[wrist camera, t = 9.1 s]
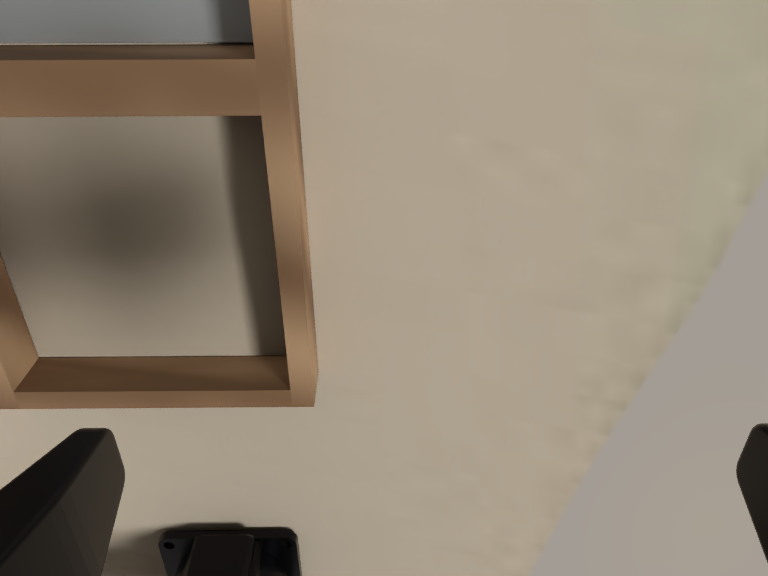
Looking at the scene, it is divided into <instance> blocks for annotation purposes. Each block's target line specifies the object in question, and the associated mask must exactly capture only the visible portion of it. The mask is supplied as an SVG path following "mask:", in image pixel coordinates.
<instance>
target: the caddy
mask: <svg viewBox="0 0 768 576" xmlns="http://www.w3.org/2000/svg"><path fill="white" fill-rule="evenodd" d="M152 42H253V43H254V44H219V45H0V117H65V116H261V118H262V128H263V137H264V147H265V156H266V165H267V175H268V184H269V194H270V203H271V212H272V222H273V231H274V240H275V250H276V259H277V269H278V278H279V287H280V297H281V306H282V315H283V325H284V334H285V344H286V353H287V356H222V357H79V358H39V357H38V354H37V352H36V349H35V346H34V344H33V341H32V338H31V336H30V333H29V330H28V327H27V325H26V322H25V319H24V317H23V314H22V311H21V309H20V306H19V303H18V301H17V298H16V295H15V292H14V290H13V287H12V284H11V282H10V279H9V276H8V274H7V271H6V268H5V266H4V263H3V260H2V257H1V255H0V409H66V408H200V407H314V402H315V394H316V387H317V379H318V360H317V347H316V334H315V320H314V307H313V293H312V280H311V266H310V253H309V239H308V226H307V213H306V199H305V186H304V172H303V159H302V145H301V132H300V118H299V105H298V91H297V78H296V65H295V51H294V38H293V24H292V11H291V0H0V43H152Z"/></svg>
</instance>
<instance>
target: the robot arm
mask: <svg viewBox="0 0 768 576" xmlns="http://www.w3.org/2000/svg"><path fill="white" fill-rule="evenodd" d="M736 471H737V472H736V473H737V479H738V483H739V486H740V488H741V491H742V494H743V497H744V499H745V502H746V505H747V508H748V510H749V513H750V516H751V518H752V521H753V524H754V527H755V530H756V532H757V535H758V538H759V540H760V543H761V546H762V549H763V552H764V554H765V557H766V560H767V562H768V424H766V423H765V424H757V425H756V426H755V427H753V428H752V430H751V432H750V434H749V437H748V439H747V442H746V444H745V446H744V448H743V451H742V453H741V455H740V458H739V460H738V463H737V469H736ZM124 482H125V470H124V466H123V463H122V459H121V456H120V453H119V450H118V447H117V444H116V440H115V437H114V435H113V433H112V432H111V430H109V429H106V428H82V429H79V430H77V431H75V432H74V433H72V434H71V435H70V436H68V437H67V438H66V439H65V440H63V441H62V442H61V443H59V444H58V445H57V446H56V447H54V448H53V449H52V450H51V451H49V452H48V453H47V454H45V455H44V456H43V457H42V458H40V459H39V460H38V461H36V462H35V463H34V464H33V465H31V466H30V467H29V468H27V469H26V470H25V471H24V472H22V473H21V474H20V475H18V476H17V477H16V478H15V479H13V480H12V481H11V482H10V483H8V484H7V485H6V486H4V487H3V488H2V489H1V490H0V576H101V574H102V570H103V566H104V562H105V558H106V554H107V550H108V546H109V542H110V539H111V535H112V531H113V527H114V523H115V519H116V515H117V511H118V507H119V503H120V499H121V495H122V491H123V487H124ZM159 549H160V552H161V556H162V559H163V562H164V565H165V569H166V572H167V575H168V576H302V571H301V562H300V554H299V545H298V537H297V535H296V534H295V533H294V532H292V531H286V530H285V531H169V532H165V533H163V534H162V535H161V537H160V540H159Z"/></svg>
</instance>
